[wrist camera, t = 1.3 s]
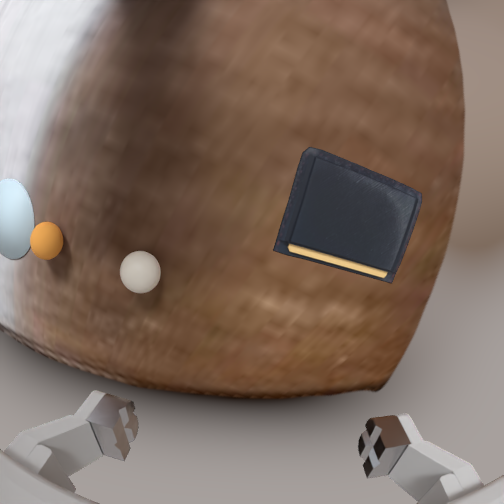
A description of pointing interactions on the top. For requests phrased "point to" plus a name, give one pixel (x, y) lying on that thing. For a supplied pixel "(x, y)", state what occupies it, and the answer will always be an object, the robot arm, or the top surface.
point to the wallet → (347, 216)
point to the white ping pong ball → (140, 272)
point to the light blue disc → (15, 219)
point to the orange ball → (46, 240)
